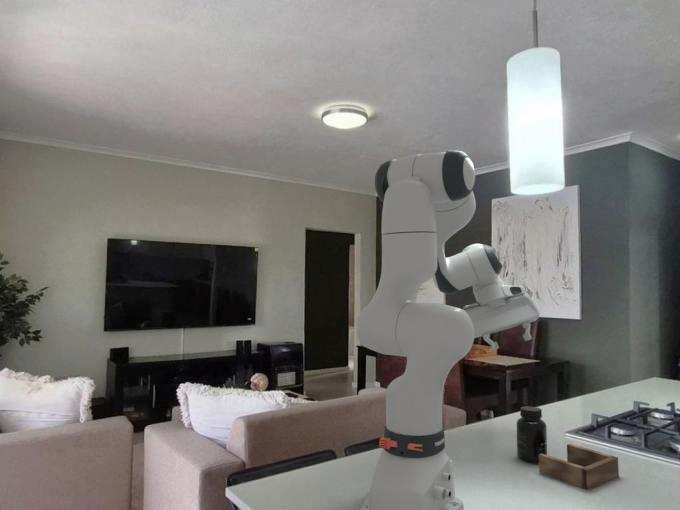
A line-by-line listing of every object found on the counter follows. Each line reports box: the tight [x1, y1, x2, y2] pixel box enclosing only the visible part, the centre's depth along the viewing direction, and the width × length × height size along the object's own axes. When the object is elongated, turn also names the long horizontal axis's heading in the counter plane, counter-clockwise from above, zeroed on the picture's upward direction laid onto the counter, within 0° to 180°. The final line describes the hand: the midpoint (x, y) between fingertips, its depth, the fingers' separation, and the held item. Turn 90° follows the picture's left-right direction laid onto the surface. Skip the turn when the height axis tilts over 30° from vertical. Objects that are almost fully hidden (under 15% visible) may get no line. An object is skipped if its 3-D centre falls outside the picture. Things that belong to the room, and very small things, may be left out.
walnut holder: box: [538, 443, 620, 491], centre depth 109 cm, size 11×12×4 cm
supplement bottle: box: [516, 405, 548, 464], centre depth 119 cm, size 7×7×12 cm
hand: (512, 344), depth 133 cm, fingers open, 8 cm apart
